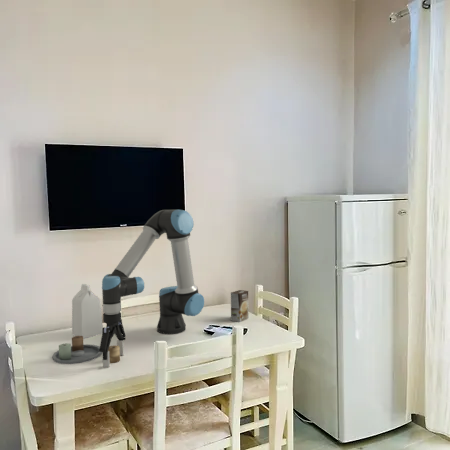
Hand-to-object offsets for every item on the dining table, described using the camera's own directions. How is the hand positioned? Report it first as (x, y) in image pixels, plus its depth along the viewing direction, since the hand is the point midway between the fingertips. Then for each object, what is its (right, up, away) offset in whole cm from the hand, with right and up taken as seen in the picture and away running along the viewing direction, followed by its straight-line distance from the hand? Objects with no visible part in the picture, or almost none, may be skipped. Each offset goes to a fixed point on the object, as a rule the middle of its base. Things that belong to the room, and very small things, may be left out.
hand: (113, 360), depth 185 cm
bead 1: (-22, 0, +2) cm, 22 cm away
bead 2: (-20, +1, +13) cm, 24 cm away
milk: (-24, +2, +39) cm, 45 cm away
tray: (-18, 0, +7) cm, 19 cm away
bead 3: (0, 0, 0) cm, 0 cm away
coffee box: (+57, +5, +59) cm, 82 cm away
